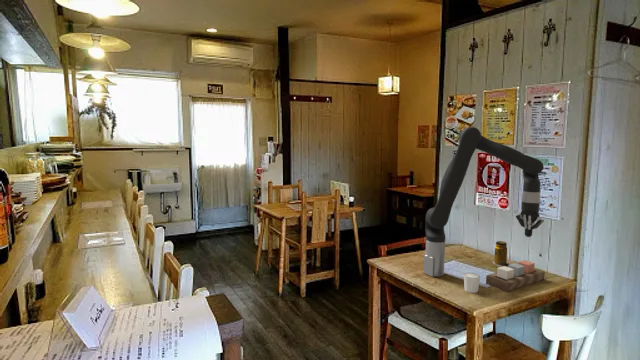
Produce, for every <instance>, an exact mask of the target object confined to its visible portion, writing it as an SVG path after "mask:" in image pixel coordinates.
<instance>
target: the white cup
mask: <svg viewBox="0 0 640 360" xmlns="http://www.w3.org/2000/svg"><path fill="white" fill-rule="evenodd" d="M480 279H481V276H480V274H477V273H474V272H465V273H463V283H464V284H463V286H464V291H465V292H468V293H470V294H471V293H472V294H473V293H474V294H475V293H478V292H479V288H480V287H479V286H480V281H481V280H480Z"/></svg>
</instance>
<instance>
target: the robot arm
mask: <svg viewBox="0 0 640 360" xmlns="http://www.w3.org/2000/svg"><path fill="white" fill-rule="evenodd" d="M458 141H459V143H458V146H457V149H456V152H455V154H454V155H453V157H452V159H451V160H450V162H449V164H448V166H446V167H447V168H446V170H445V171H444V174H443V176H442V179H441V182H440V188H439V195H438V200H437V202H436V204H435V206H433V207H431V208H429V209H428V210H427V212H426V214H425V223H424V225H425V228H424V230H425V254H424V255H423V274H425V275H428V276H430V277H432V278H433V277H442V276H444V275H445V262H446V261H445V259H446V258H445V257H446V233H445V227H446V225H448V224H447V223H448V222H449V218H450V215H451V211H452V208H453V206H454V202H455V201H456V199H457V197H458V195H459V192H460V188H461V187H462V185H463V182H464V181H465V177H466V174H467V171H468V169H469V166H470V162H471V160H472V157H473V155H474V154H475V151H476V150H478V151H479V150H480V151H482V152H484V153H486V154H489V155H491V156H492V157H495V158H497V159H499V160H500V161H503V162H504V163H506V164H509V165H512V166H514V167H517V168H520V169H522V177H523V178H522V179H523V184H522V185H523V186H522V194H521V208H520V209H521V210H520V214H517V215H515V218H516V219H517V221H518V224H519V225H520V226H521V227H522V228H524V235H525V237H527V238H530V237H532V236H533V230H535V229H538V228H539V227H540V226H541V225H542V224H543V223H544V222H545V220H544V219H542V218H541V217H540V214H539V213H540V207H541V206H540V204H541V180H540V179H539V174H541V173H542V171H544V167H545V166H544V164H543V162H542V161H541V160H539V159H537V158H535V157H532V156H531V155H528V154H525V153H523V152H521V151H519V150H518V149H516V148H512V147H510V146H508V145H505V144H503V143H499V142H497V141H493V140H491V139H489V138H487V137H485V136H483V135H482V133H481V131H480V129H478V127H473V126H468V127H466V128H464V129H462V130H461V131H460V132H459V135H458Z"/></svg>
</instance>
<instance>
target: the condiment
mask: <svg viewBox="0 0 640 360" xmlns="http://www.w3.org/2000/svg"><path fill="white" fill-rule="evenodd" d="M507 245H508V243H507V242H506V241H502V240H501V241H500V240H497V241H496V242H495V246H494V258H493V261H492V260H491V261H490V262H492V263H493V264H494V265H495V266H496V267H497V266H498V267H502V266H506V267H508V265H510V264H511V263H510V262H508V261H507V258H508V246H507Z"/></svg>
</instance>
